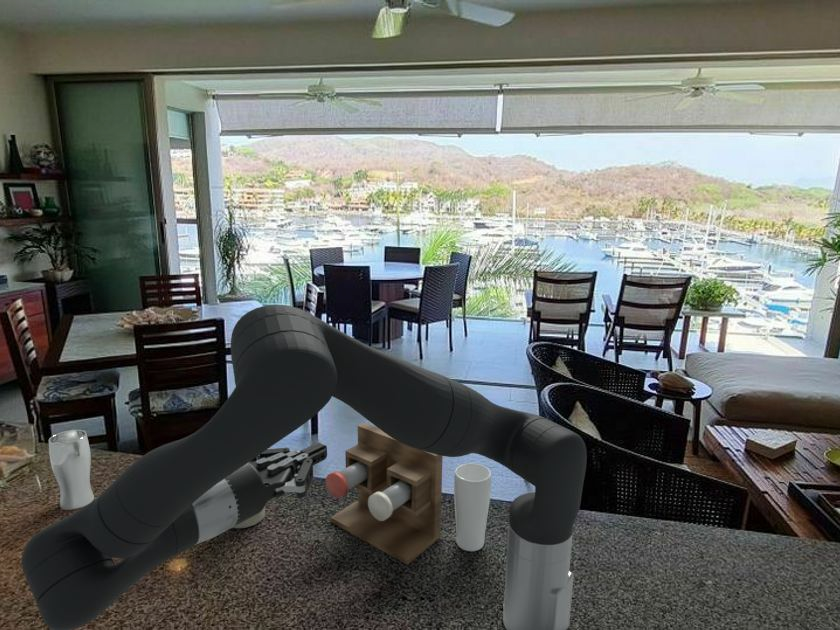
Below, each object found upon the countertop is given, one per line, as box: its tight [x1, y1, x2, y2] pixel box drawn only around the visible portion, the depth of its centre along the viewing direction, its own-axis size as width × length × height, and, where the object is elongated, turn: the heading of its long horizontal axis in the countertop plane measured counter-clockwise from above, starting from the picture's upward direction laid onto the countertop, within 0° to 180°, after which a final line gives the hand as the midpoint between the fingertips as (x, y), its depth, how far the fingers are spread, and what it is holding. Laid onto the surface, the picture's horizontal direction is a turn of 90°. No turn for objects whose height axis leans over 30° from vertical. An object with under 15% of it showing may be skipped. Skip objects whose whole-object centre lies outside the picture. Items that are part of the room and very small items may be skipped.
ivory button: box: [368, 480, 412, 521], centre depth 96 cm, size 5×10×5 cm, turn 142°
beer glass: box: [48, 429, 95, 511], centre depth 110 cm, size 7×7×15 cm
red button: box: [325, 461, 368, 499], centre depth 103 cm, size 5×10×5 cm, turn 142°
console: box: [330, 422, 443, 565], centre depth 102 cm, size 20×10×18 cm, turn 52°
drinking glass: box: [453, 463, 492, 552], centre depth 98 cm, size 7×7×15 cm
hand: (323, 449), depth 80 cm, fingers closed
